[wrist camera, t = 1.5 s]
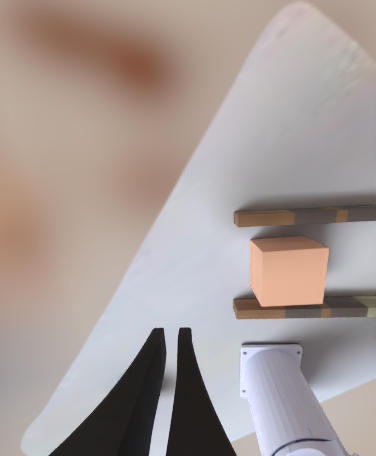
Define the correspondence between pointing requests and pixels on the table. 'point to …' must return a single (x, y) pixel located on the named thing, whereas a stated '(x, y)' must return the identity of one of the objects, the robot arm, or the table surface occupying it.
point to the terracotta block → (288, 270)
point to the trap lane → (331, 305)
